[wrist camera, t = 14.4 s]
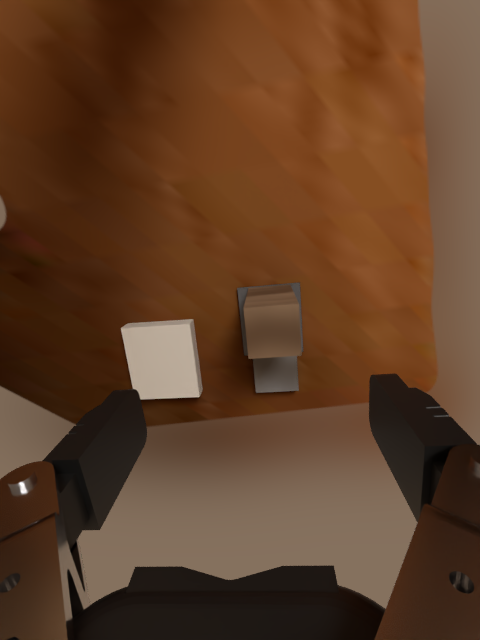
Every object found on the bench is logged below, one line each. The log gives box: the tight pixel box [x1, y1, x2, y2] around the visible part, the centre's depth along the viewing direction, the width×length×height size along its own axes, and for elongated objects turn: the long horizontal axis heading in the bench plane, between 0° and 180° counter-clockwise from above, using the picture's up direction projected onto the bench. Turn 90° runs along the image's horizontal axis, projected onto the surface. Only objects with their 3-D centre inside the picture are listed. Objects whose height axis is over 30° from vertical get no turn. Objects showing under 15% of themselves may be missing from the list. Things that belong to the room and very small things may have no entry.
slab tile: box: [121, 319, 203, 399], centre depth 34 cm, size 2×7×8 cm
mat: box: [237, 283, 303, 356], centre depth 32 cm, size 7×6×1 cm
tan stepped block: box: [244, 285, 302, 393], centre depth 28 cm, size 11×4×8 cm, turn 6°
